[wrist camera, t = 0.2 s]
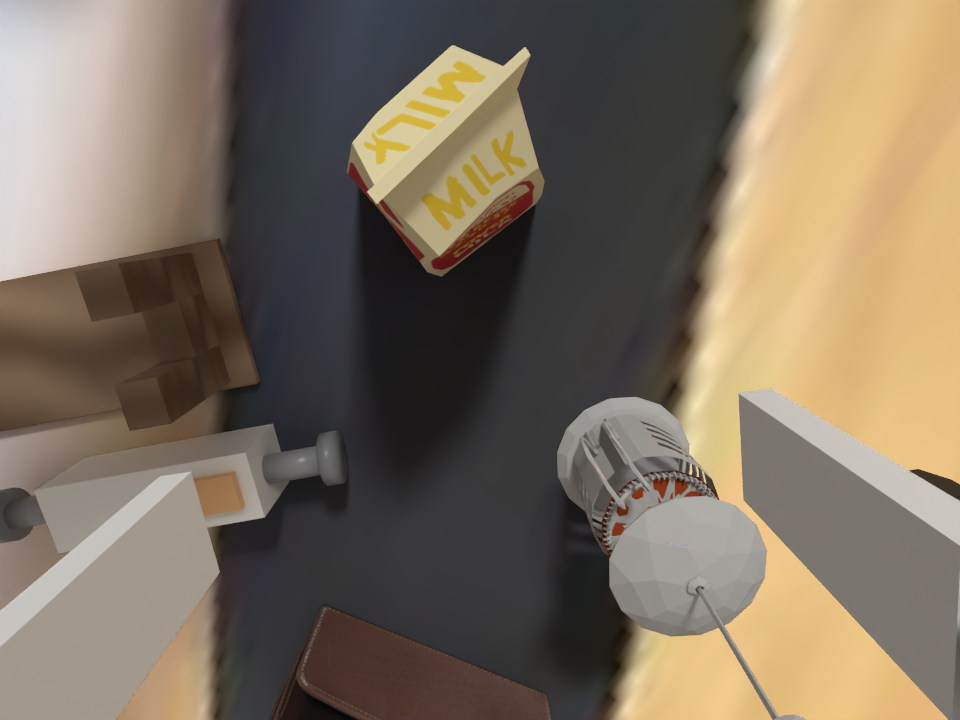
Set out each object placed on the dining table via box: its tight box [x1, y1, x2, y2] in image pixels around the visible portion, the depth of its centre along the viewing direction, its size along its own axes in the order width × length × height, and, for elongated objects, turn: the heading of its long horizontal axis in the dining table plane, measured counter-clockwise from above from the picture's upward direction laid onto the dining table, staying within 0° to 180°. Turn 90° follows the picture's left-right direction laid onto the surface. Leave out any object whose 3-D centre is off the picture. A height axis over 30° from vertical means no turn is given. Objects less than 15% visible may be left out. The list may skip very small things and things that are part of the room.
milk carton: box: [347, 45, 544, 277], centre depth 30 cm, size 9×9×20 cm
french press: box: [557, 397, 805, 720], centre depth 32 cm, size 10×12×25 cm
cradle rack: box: [0, 239, 260, 431], centre depth 37 cm, size 10×24×9 cm, turn 101°
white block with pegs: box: [0, 424, 348, 553], centre depth 41 cm, size 5×24×6 cm, turn 101°
